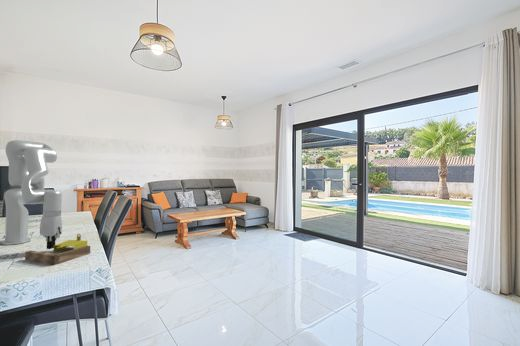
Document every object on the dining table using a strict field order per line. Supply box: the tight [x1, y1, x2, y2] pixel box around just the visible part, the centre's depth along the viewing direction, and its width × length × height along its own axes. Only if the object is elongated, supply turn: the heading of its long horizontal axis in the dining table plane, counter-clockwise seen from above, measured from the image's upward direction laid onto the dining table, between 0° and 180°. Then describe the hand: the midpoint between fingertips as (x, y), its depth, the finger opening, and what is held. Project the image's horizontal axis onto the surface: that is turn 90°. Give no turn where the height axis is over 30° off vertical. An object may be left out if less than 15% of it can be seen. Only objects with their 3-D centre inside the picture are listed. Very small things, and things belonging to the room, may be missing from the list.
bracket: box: [53, 233, 88, 253], centre depth 134 cm, size 16×8×15 cm
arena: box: [24, 245, 91, 266], centre depth 124 cm, size 19×18×4 cm
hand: (50, 248), depth 132 cm, fingers closed
